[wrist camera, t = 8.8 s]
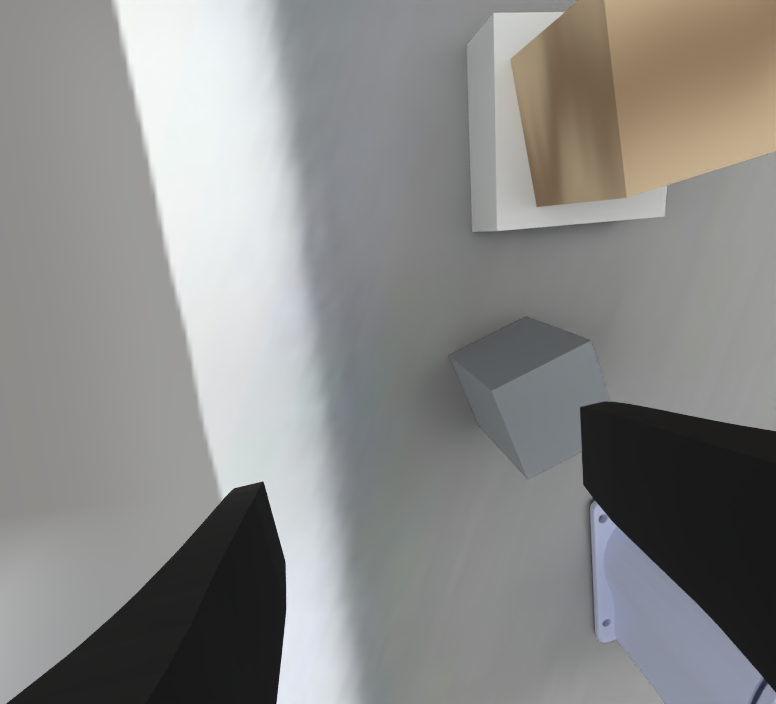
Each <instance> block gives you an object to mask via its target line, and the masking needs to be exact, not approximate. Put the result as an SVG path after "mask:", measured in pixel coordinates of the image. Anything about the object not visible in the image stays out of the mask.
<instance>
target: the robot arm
mask: <svg viewBox="0 0 776 704" xmlns="http://www.w3.org/2000/svg"><path fill="white" fill-rule="evenodd" d="M580 421H581V443H582V464H583V485H584V486H585V488H586V489H587V490H588V492H589V493H590V494H591V496H592V497H593V498H594V499H595V501H594V502H593V503H592V504H591V506H590V520H591V543H592V567H593V590H594V614H595V634H596V637H597V638H598V640H599V641H600V642H602V643H608V642H611V641H614V640H617V641H618V642H619V644H620V645H621V646H622V648H623V649H624V650H625V652H626V653H627V654H628V655H629V657H630V658H631V659H632V661H633V662H634V663H635V665H636V666H637V667H638V669H639V670H640V671H641V672H642V674H643V675H644V676H645V678H646V679H647V680H648V682H649V683H650V684H651V686H652V687H653V688H654V689H655V691H656V692H657V693H658V695H659V696H660V697H661V699H662V700H663V701H664V702H665V704H776V431H770V430H764V429H758V428H752V427H746V426H740V425H735V424H729V423H724V422H719V421H713V420H708V419H703V418H698V417H693V416H688V415H683V414H678V413H673V412H668V411H663V410H658V409H653V408H648V407H643V406H637V405H632V404H625V403H618V402H607V401H603V402H599V403H595V404H591V405H586V406H582V407H580ZM601 515H602V517H601V518H599V517H600V516H601ZM285 617H286V565H285V559H284V555H283V551H282V548H281V544H280V540H279V537H278V533H277V529H276V526H275V522H274V518H273V515H272V511H271V507H270V504H269V500H268V496H267V493H266V489H265V485H264V482H259V483H255V484H251V485H246V486H242V487H238V488H234V489H233V490H232V491H231V492H230V493H229V494H228V495H227V496H226V497H225V498H224V499H223V500H222V502H221V503H220V504H219V505H218V506H217V507H216V509H215V510H214V511H213V512H212V513H211V514H210V516H208V518H207V519H206V520H205V521H204V522H203V524H201V526H200V527H199V528H198V529H197V530H196V531H195V532H194V533H193V535H192V536H191V537H190V538H189V539H188V540H187V541H186V543H185V544H184V545H183V546H182V547H181V548H180V549H179V551H177V552H176V553H175V555H174V556H173V557H172V558H171V559H170V560H169V561H168V562H167V563H166V564H165V565H164V566H163V567H162V568H161V569H160V570H159V571H158V572H157V573H156V574H155V575H154V576H153V577H152V578H151V579H150V580H149V581H148V582H147V583H146V584H145V586H143V587H142V588H141V590H140V591H139V592H138V593H137V594H136V595H135V596H133V597H132V598H131V599H130V600H129V601H128V602H127V603H126V604H125V605H124V606H123V607H122V608H121V609H120V610H119V611H118V612H117V613H116V614H114V616H112V617H111V618H110V619H109V620H108V621H107V622H105V623H104V624H103V625H102V626H101V627H100V628H99V629H98V630H96V631H95V632H94V633H93V634H92V635H91V636H90V637H89V638H87V639H86V640H85V641H84V642H83V643H82V644H81V645H79V646H78V647H77V648H76V649H75V650H73V651H72V652H71V653H70V654H69V655H67V657H65V658H64V659H63V660H61V661H60V662H59V663H57V664H56V665H55V666H54V667H52V668H51V669H50V670H49V671H47V672H46V673H45V674H43V675H42V676H41V677H40V678H38V679H37V680H36V681H35V682H33V683H32V684H31V685H29V686H28V687H27V688H26V689H24V690H23V691H22V692H21V693H19V694H18V695H17V696H16V697H14V698H13V699H12V700H10V701H9V702H8V703H7V704H276V702H277V693H278V684H279V674H280V665H281V656H282V646H283V637H284V627H285Z"/></svg>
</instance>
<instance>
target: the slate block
mask: <svg viewBox="0 0 776 704" xmlns="http://www.w3.org/2000/svg"><path fill="white" fill-rule="evenodd" d="M449 357H450V360H451V362H452V364H453V367H454V369H455V371H456V374H457V376H458V378H459V381H460V383H461V385H462V388H463V390H464V392H465V395H466V397H467V399H468V402H469V404H470V406H471V408H472V411H473V413H474V415H475V418H476V420H477V422H478V425H479V427H480V428H481V429H482V430H483V431H484V432H485V433H486V434H487V435H488V437H489V438H490V439H491V440H492V441H493V442H494V443H495V444H496V445H497V446H498V448H499V449H500V450H501V451H502V452H503V453H504V454H505V455H506V456H507V457H508V459H509V460H510V461H511V462H512V463H513V464H514V465H515V466H516V467H517V468H518V470H519V471H520V472H521V473H522V474H523V475H524V476H525V477H526V478H527V479H530V478H532V477H534V476H536V475H538V474H540V473H542V472H544V471H546V470H548V469H549V468H551V467H553V466H555V465H557V464H559V463H561V462H563V461H565V460H567V459H569V458H571V457H573V456H574V455H576V454H578V453H580V452H582V443H581V421H580V407H582V406H586V405H591V404H595V403H599V402H603V401H607V402H611V401H610V398H609V395H608V392H607V389H606V385H605V382H604V379H603V376H602V373H601V370H600V366H599V363H598V360H597V357H596V354H595V351H594V348H593V344H592V341H591V340H589V339H586V338H583V337H581V336H578V335H575V334H572V333H570V332H567V331H564V330H561V329H559V328H556V327H553V326H550V325H548V324H545V323H542V322H539V321H537V320H534V319H531V318H528V317H524V318H522V319H520V320H518V321H516V322H514V323H512V324H510V325H508V326H506V327H504V328H502V329H500V330H498V331H496V332H494V333H492V334H490V335H488V336H486V337H484V338H482V339H480V340H478V341H476V342H474V343H472V344H470V345H468V346H466V347H464V348H462V349H460V350H458V351H456V352H454V353H452V354H450V355H449Z"/></svg>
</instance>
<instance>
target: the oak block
mask: <svg viewBox="0 0 776 704" xmlns="http://www.w3.org/2000/svg"><path fill="white" fill-rule="evenodd" d="M511 65H512V71H513V77H514V82H515V88H516V94H517V99H518V105H519V111H520V117H521V122H522V128H523V134H524V139H525V145H526V150H527V156H528V162H529V167H530V173H531V178H532V184H533V189H534V195H535V200H536V206H537V207H542V206H552V205H561V204H571V203H581V202H591V201H600V200H610V199H620V198H628V197H631V196H634V195H637V194H640V193H644V192H647V191H650V190H653V189H656V188H660V187H663V186H666V185H669V184H672V183H675V182H679V181H682V180H685V179H688V178H691V177H695V176H698V175H701V174H704V173H707V172H710V171H714V170H717V169H720V168H723V167H726V166H730V165H733V164H736V163H739V162H742V161H745V160H749V159H752V158H755V157H758V156H761V155H765V154H768V153H771V152H774V151H776V0H579V1H577V2H576V3H575V4H574V5H573V6H572V7H570V8H569V9H568V10H567V11H566V12H565V13H563V14H562V15H561V16H560V17H559V18H558V19H556V20H555V21H554V22H553V23H552V24H550V25H549V26H548V27H547V28H546V29H545V30H543V31H542V32H541V33H540V34H539V35H538V36H536V37H535V38H534V39H533V40H532V41H531V42H529V43H528V44H527V45H526V46H525V47H523V48H522V49H521V50H520V51H519V52H518V53H516V54H515V55H514V56H513V57H512V58H511Z"/></svg>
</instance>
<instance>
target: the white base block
mask: <svg viewBox="0 0 776 704" xmlns="http://www.w3.org/2000/svg"><path fill="white" fill-rule="evenodd" d="M563 13H565V12H530V13H493V14H492V15H491V17H490V18H489V19H488V20H487V21H486V23H485V24H484V25H483V26H482V27H481V29H480V30H479V31H478V32H477V33H476V35H475V36H474V37H473V38H472V39H471V41H470V42H469V43H468V44H467V72H468V106H469V140H470V174H471V208H472V232H484V231H504V230H516V229H527V228H539V227H550V226H562V225H573V224H585V223H596V222H608V221H619V220H631V219H642V218H654V217H665V207H666V194H667V185H666V186H663V187H660V188H656V189H653V190H650V191H647V192H644V193H640V194H637V195H634V196H631V197H628V198H620V199H610V200H600V201H591V202H581V203H571V204H561V205H552V206H542V207H537V206H536V200H535V195H534V189H533V184H532V178H531V173H530V167H529V162H528V156H527V150H526V145H525V139H524V134H523V128H522V122H521V117H520V111H519V105H518V99H517V94H516V88H515V82H514V77H513V71H512V65H511V58H512V57H513V56H514V55H515V54H516V53H518V52H519V51H520V50H521V49H522V48H523V47H525V46H526V45H527V44H528V43H529V42H531V41H532V40H533V39H534V38H535V37H536V36H538V35H539V34H540V33H541V32H542V31H543V30H545V29H546V28H547V27H548V26H549V25H550V24H552V23H553V22H554V21H555V20H556V19H558V18H559V17H560V16H561V15H562V14H563Z"/></svg>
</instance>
